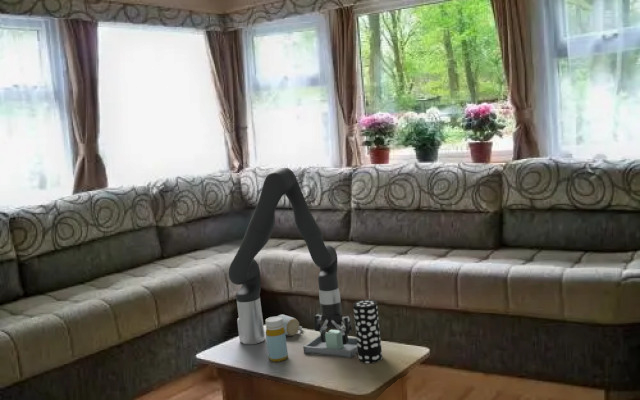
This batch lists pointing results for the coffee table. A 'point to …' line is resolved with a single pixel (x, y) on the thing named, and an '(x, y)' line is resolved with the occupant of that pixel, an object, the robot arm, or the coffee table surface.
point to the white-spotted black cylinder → (367, 331)
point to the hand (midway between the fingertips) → (334, 342)
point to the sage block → (334, 339)
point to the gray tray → (320, 349)
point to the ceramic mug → (290, 325)
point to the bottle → (276, 339)
